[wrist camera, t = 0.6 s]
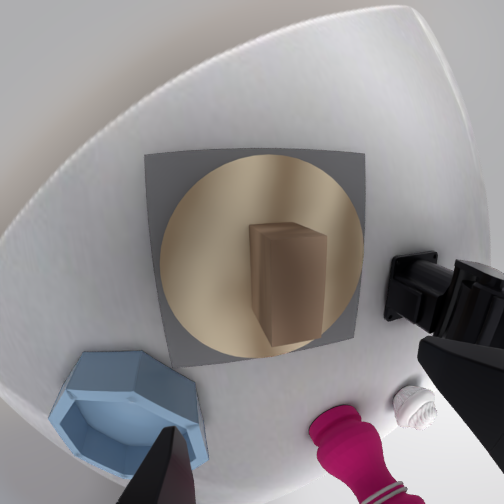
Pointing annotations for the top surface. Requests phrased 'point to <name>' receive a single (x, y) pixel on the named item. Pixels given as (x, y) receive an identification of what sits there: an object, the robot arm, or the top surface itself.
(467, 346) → the robot arm
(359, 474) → the pepper mill
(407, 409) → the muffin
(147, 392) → the bowl
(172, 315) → the mat
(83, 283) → the top surface
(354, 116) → the top surface
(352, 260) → the lid
